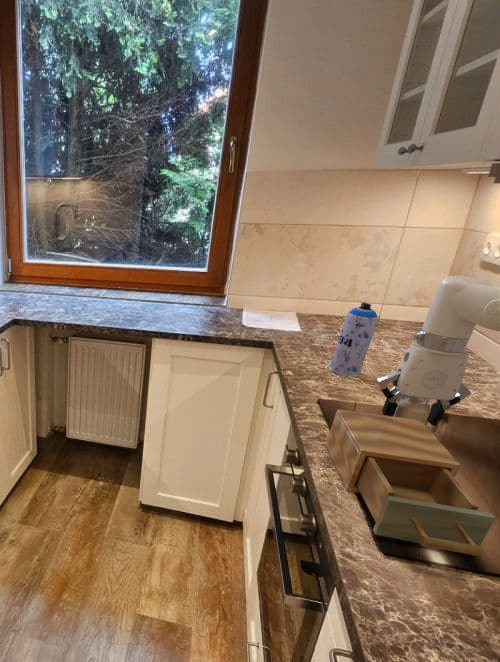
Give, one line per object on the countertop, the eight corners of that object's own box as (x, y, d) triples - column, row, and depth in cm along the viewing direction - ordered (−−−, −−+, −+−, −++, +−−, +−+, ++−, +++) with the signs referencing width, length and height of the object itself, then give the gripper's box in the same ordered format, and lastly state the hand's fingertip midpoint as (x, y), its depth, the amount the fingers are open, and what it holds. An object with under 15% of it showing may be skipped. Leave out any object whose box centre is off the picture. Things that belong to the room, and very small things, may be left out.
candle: (381, 432, 105) (397, 392, 100) (409, 436, 103) (427, 396, 99) (389, 445, 100) (406, 403, 96) (419, 450, 99) (438, 408, 94)
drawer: (497, 582, 66) (520, 545, 63) (388, 561, 69) (405, 525, 66) (432, 494, 84) (448, 462, 81) (348, 480, 87) (360, 449, 84)
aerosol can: (322, 367, 138) (343, 300, 129) (344, 365, 140) (366, 299, 131) (343, 377, 131) (367, 308, 123) (366, 375, 133) (391, 306, 124)
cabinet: (439, 506, 82) (460, 465, 78) (346, 490, 86) (361, 450, 82) (404, 457, 96) (420, 420, 92) (325, 445, 99) (337, 409, 95)
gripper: (398, 342, 90) (368, 422, 98) (505, 353, 86) (465, 435, 94) (384, 330, 97) (357, 406, 105) (483, 340, 93) (447, 418, 101)
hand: (408, 419), depth 99 cm, fingers open, 7 cm apart
